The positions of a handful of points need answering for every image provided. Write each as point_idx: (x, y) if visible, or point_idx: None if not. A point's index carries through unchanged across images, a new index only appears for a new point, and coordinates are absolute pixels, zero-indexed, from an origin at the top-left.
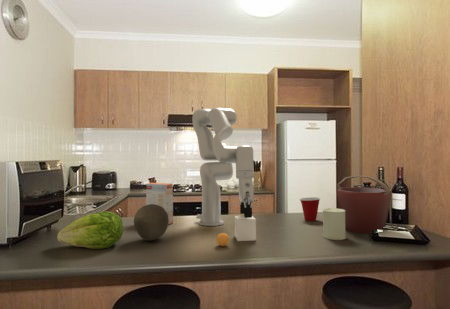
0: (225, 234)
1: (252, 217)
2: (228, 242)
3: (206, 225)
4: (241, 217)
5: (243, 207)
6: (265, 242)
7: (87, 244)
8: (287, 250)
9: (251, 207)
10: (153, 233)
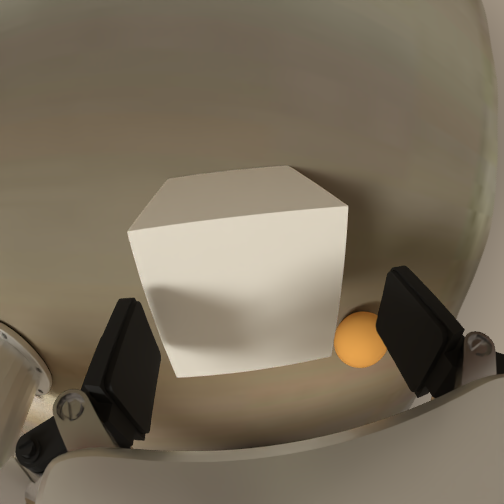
0: (383, 346)
1: (257, 234)
2: (372, 313)
3: (51, 378)
4: (247, 336)
5: (140, 389)
6: (335, 117)
7: None
8: (446, 69)
9: (479, 333)
10: None
